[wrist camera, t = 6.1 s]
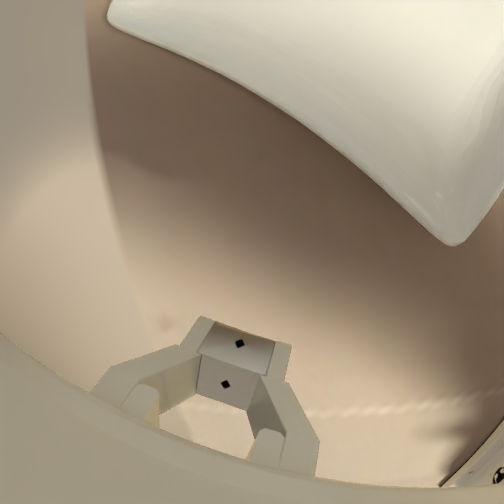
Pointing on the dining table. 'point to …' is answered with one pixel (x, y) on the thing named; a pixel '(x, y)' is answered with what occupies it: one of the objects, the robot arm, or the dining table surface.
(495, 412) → the dining table surface
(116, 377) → the robot arm
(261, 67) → the salad plate
